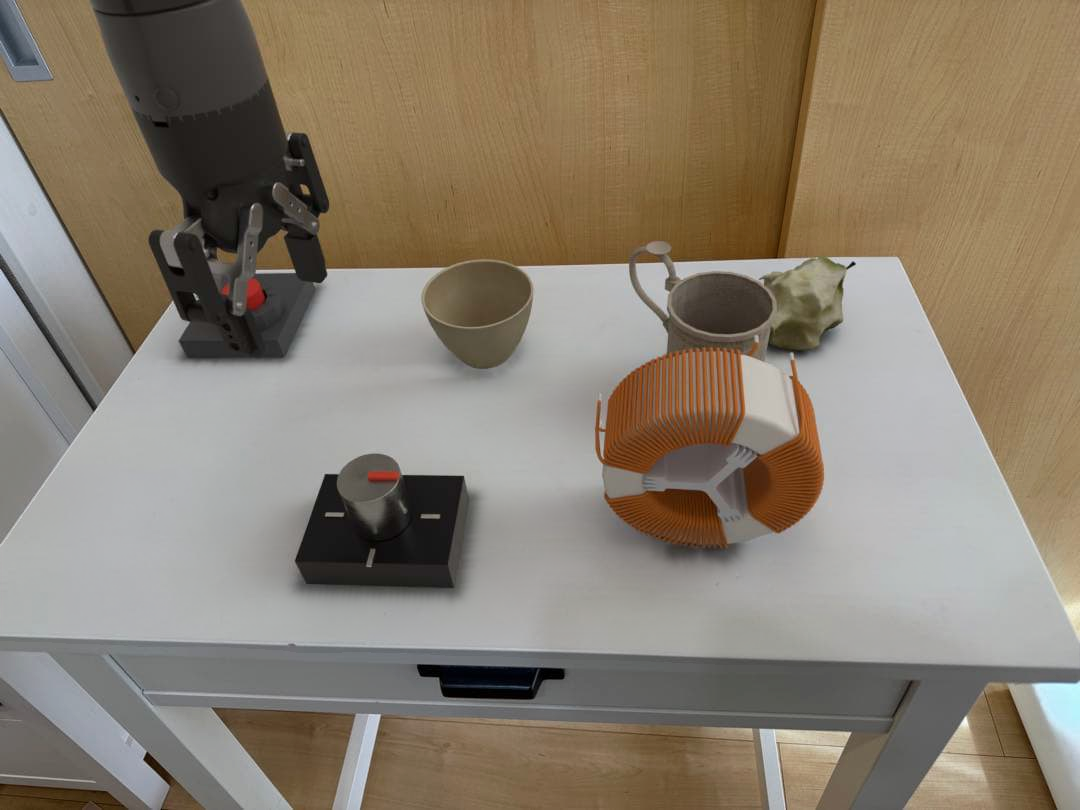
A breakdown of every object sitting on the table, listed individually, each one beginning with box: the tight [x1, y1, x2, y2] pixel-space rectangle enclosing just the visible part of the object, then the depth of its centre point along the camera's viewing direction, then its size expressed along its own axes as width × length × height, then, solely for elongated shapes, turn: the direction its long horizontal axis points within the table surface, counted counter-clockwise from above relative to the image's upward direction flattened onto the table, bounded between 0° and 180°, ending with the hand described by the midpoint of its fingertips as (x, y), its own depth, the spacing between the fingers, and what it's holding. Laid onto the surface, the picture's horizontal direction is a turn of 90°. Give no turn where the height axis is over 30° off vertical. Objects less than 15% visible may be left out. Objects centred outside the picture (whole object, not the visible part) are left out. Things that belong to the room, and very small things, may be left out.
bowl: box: [420, 258, 534, 370], centre depth 70 cm, size 10×10×7 cm
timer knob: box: [337, 452, 412, 541], centre depth 54 cm, size 4×4×5 cm
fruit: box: [758, 254, 857, 352], centre depth 70 cm, size 9×9×8 cm
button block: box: [178, 272, 316, 358], centre depth 77 cm, size 11×10×4 cm
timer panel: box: [294, 473, 470, 589], centre depth 57 cm, size 11×9×3 cm
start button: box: [222, 278, 265, 311], centre depth 74 cm, size 4×4×2 cm
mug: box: [628, 240, 777, 362], centre depth 64 cm, size 14×10×12 cm
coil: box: [594, 335, 825, 549], centre depth 53 cm, size 7×15×15 cm, turn 83°
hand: (283, 314), depth 54 cm, fingers open, 8 cm apart
